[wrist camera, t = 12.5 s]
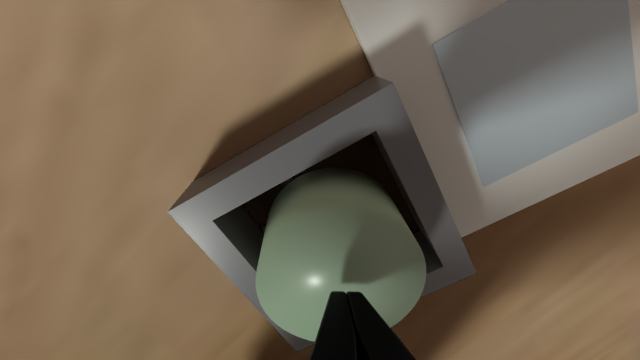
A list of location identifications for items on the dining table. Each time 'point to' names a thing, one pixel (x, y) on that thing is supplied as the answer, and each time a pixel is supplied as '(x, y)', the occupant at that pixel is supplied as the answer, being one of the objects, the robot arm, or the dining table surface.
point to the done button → (336, 251)
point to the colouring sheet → (509, 92)
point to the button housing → (303, 152)
